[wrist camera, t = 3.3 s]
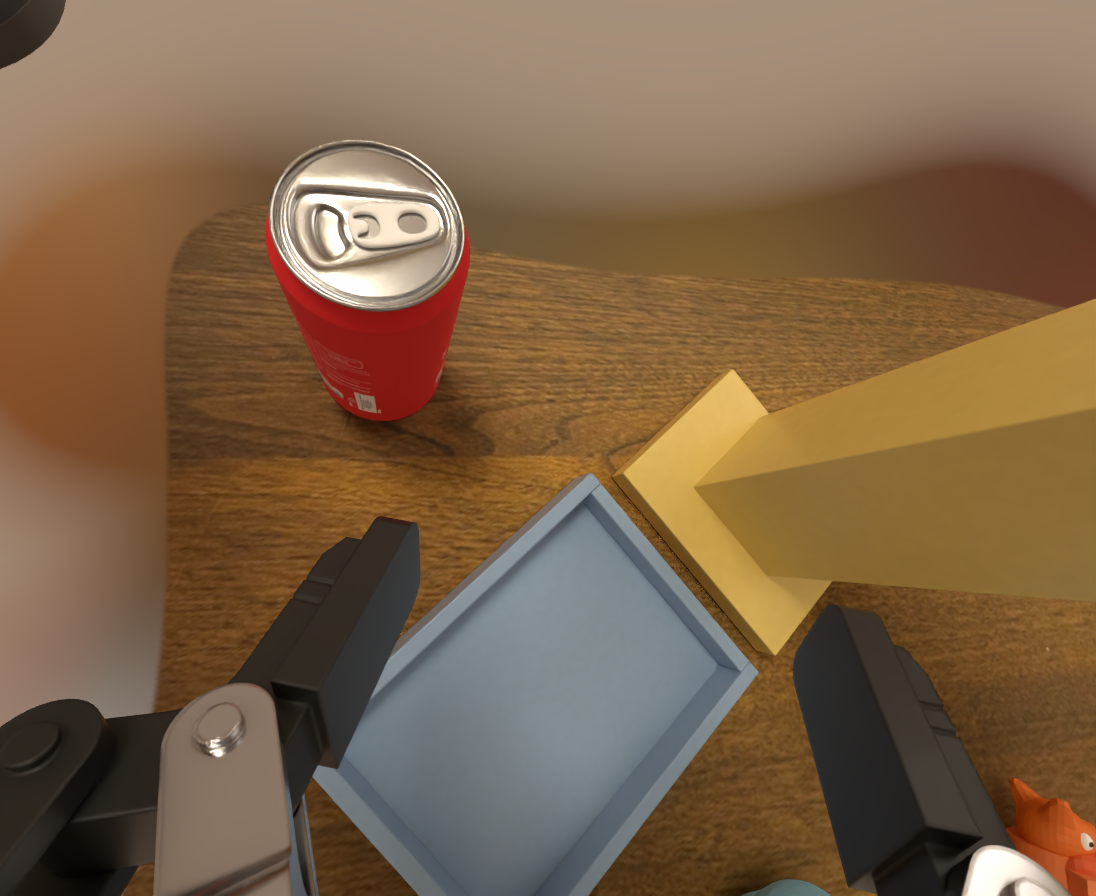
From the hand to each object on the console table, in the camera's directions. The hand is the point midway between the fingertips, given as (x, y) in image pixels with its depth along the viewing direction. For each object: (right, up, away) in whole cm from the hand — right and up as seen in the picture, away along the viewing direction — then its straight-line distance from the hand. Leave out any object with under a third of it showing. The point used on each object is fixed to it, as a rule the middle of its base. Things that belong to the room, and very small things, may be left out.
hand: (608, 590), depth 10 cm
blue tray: (-2, -8, +13) cm, 16 cm away
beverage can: (-9, +6, +14) cm, 18 cm away
